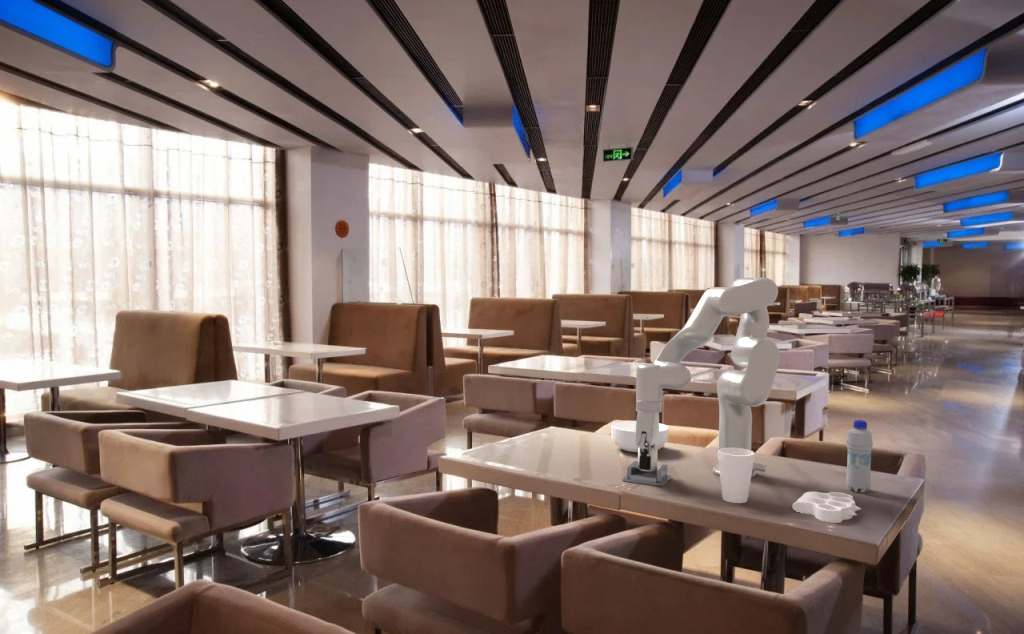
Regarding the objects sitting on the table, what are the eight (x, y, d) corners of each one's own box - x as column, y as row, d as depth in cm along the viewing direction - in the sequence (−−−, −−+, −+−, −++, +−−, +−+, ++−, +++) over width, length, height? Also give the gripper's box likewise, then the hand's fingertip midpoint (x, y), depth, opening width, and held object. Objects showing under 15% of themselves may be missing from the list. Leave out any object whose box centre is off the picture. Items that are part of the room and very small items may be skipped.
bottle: (848, 485, 203) (850, 416, 202) (873, 489, 198) (876, 419, 197) (842, 490, 197) (844, 420, 197) (868, 495, 193) (870, 423, 192)
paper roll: (659, 467, 208) (659, 447, 208) (654, 472, 203) (655, 451, 203) (640, 465, 210) (641, 445, 210) (635, 469, 205) (636, 449, 205)
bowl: (638, 441, 257) (638, 418, 257) (680, 452, 241) (680, 427, 241) (599, 448, 246) (599, 424, 245) (640, 460, 230) (641, 434, 229)
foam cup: (731, 492, 195) (732, 446, 194) (760, 500, 187) (761, 452, 187) (709, 498, 189) (710, 450, 189) (738, 507, 182) (739, 457, 181)
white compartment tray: (806, 498, 191) (865, 509, 182) (788, 516, 176) (852, 528, 168) (806, 486, 191) (866, 496, 182) (789, 502, 176) (852, 514, 168)
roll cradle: (671, 477, 209) (671, 464, 208) (663, 486, 200) (663, 472, 199) (632, 472, 214) (632, 459, 214) (622, 481, 205) (622, 467, 205)
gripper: (643, 400, 215) (642, 458, 216) (628, 409, 200) (627, 472, 200) (668, 402, 212) (667, 461, 213) (654, 411, 196) (653, 475, 197)
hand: (647, 466), depth 207 cm, fingers closed on paper roll, 5 cm apart
